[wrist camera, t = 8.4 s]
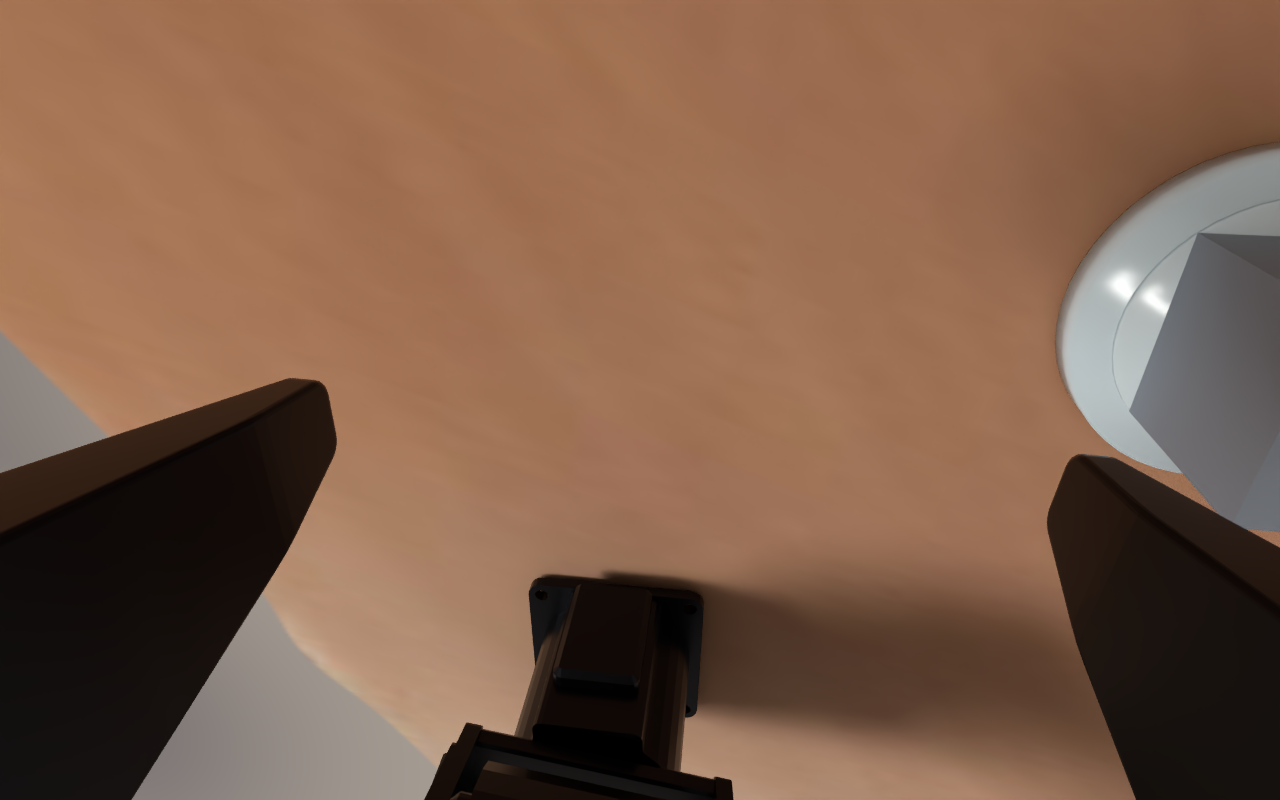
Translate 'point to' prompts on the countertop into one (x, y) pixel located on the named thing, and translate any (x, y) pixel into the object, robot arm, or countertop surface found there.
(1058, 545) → the robot arm
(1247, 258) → the block
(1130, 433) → the dish
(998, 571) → the countertop surface
